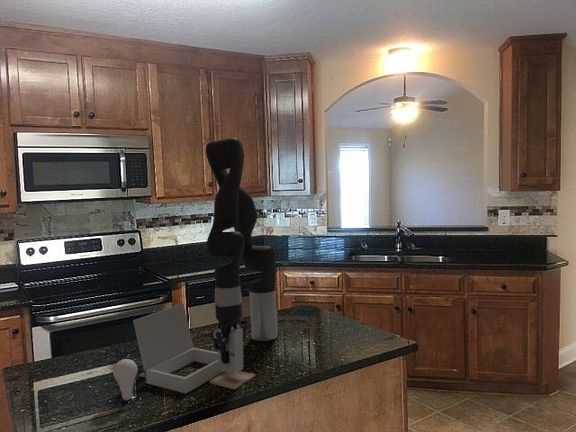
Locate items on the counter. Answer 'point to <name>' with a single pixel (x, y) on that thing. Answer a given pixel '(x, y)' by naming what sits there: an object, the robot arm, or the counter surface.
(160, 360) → the lid
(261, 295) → the robot arm
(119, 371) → the lightbulb
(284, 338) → the counter surface
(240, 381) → the mat
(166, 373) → the case
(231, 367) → the skincare box
